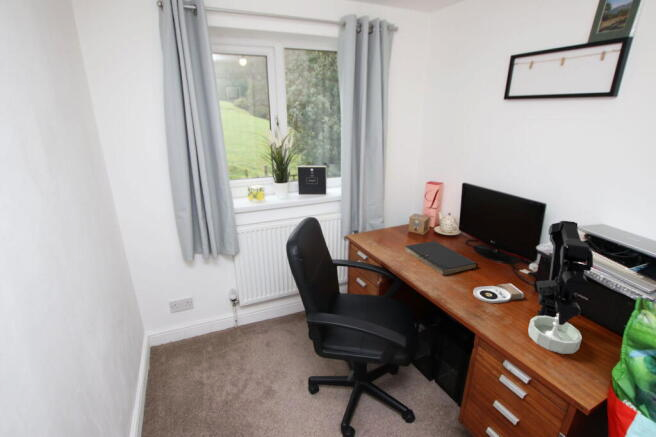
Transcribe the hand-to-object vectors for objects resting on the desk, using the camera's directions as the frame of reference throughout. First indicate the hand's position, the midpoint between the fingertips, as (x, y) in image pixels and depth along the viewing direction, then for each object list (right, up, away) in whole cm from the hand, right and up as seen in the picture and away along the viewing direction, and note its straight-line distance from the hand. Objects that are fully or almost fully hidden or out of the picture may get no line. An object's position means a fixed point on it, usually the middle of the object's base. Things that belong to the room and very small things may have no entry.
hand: (558, 317), depth 111 cm
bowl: (0, -9, +3) cm, 10 cm away
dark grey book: (-19, +12, +67) cm, 71 cm away
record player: (-6, 0, +31) cm, 32 cm away
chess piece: (0, -8, +3) cm, 9 cm away
